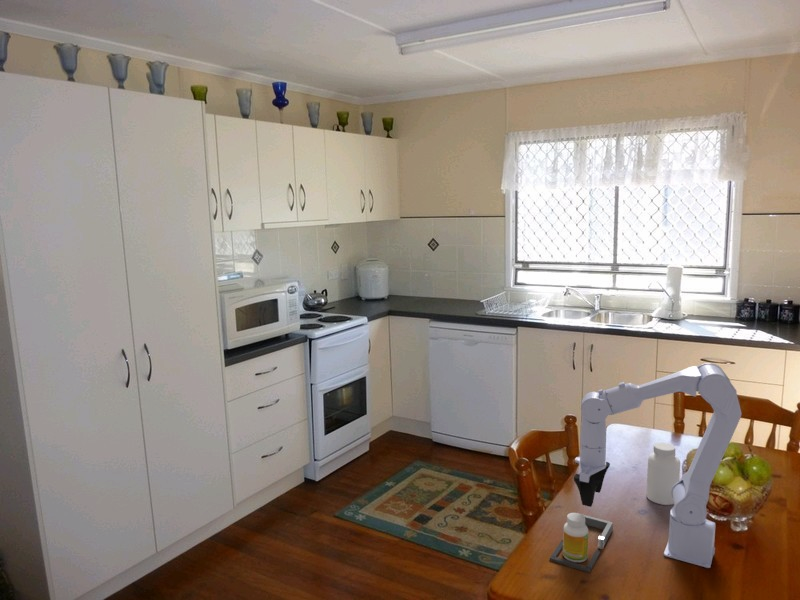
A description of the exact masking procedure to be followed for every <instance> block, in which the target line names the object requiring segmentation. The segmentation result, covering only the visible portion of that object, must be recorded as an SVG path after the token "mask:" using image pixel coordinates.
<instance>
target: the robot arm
mask: <svg viewBox="0 0 800 600" xmlns="http://www.w3.org/2000/svg"><path fill="white" fill-rule="evenodd" d="M678 392H681V393H684V394H687V395H690V396H693V397H697V392H698V393H699V395H700V396H701V398H702V399H703V400H705V401H706V403H708V404H709V405H710V406H711V408H712V410H713V413H712V416H710V419H709V422H708V425H707V426H706V429H705V431H704V434H703V436H702V438H701V441H700V443H699V445H698V447H697V449H696V450H695V451H696V452H695V454H694V456H693V459H692V461H691V463H690V465H689V467H688V470H687V471H686V472H685V473H683V474H682V476H681V478H680V479H679V482H677V483H676V484H675V485H674V486H673V487H672V490H671V494H672V498H673V500H674V504H673V506H672V508H671V509H670V512H669V526H668V528H669V529H668V540H667V543H666V545H665V546H666V547H665V549H664V552H663V556H664V557H666V558H670V559H675V560H678V561H682V562H685V563H689V564H692V565H697V566H699V567H702V568H703V567H704V568H706V569H710V568H711V565H712V561H713V558H714V556H715V554H716V553H715V552H716V547H715V539H716V538H715V536H716V522H714V521H712V520H709V519H707V514H708V513H707V512H708V511H707V504H708V501H709V497H710V487H711V484H712V482H713V480H714V478H715V475H716V473H717V471H718V469H719V466H720V465H721V462H722V461H723V457H724V455H725V453H726V451H727V449H728V446H729V444H730V442H731V440H732V438H733V436H734V433H735V432H736V429H737V426H738V424H739V422H740V421H741V417H742V415H743V413H742V410H741V406H740V401H739V398H738V395H737V394H738V393H737V389H736V387H735V386H734V385H733V384H732V382H731V380H730V378H729V377H728V376H727V374H726V373H725V371H724V370H723V369H722V368H721V367H720V366H719V365H717V364H715V363H711V362H705V363H702V364H700V365H698V366H697V365H693V366H689V367H686V368H684V369H682V370H679V371H677V372H674V373H670V374H669V375H667V374H666V375H665V376H662V377H659V378H657V379H654V380H651V381H648V382H645V383H642V384H638V385H637V384H635V383H633V382H627V383H626V382H625V381H622V382H618V385H617V386H613V387H612V388H611V387H610V388H608V389H602V388H600V389H598V390H597V392H596V391H590V392H588V393H586V394H584V396H583V397H582V400H581V401H580V403H581V404H580V412H581V424H580V439H579V440H580V443H579V444H580V447H579V451H580V452H579V456H576V457H575V458H574V462H575V463H577V464H578V466H579V473H575V474H574V476H573V481H574V483H575V484H576V487H577V490H578V491H579V495H580V496H579V497H580V500H581V501H580V502H581V505H582V506H586V507H589V508H592V506H593V504H594V498H595V494H596V493H597V494H598V493H599V494H600V493H601V491H602V487H603V484H604V479H605V476H606V473H607V472H608V470H609V468H610V466H611V463H610V462H608V461H606V460H607V459H606V455H607V453H606V452H607V424H606V421H607V418H608V416H612V415H616V414H620V413H623V412H627V411H630V410H634V409H638V408H640V407H641V405H642V403H643V402H644V401H645V400H649V399H654V398H658V397H662V396H663V397H664V396H666V395H671V394H674V393H678Z"/></svg>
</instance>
